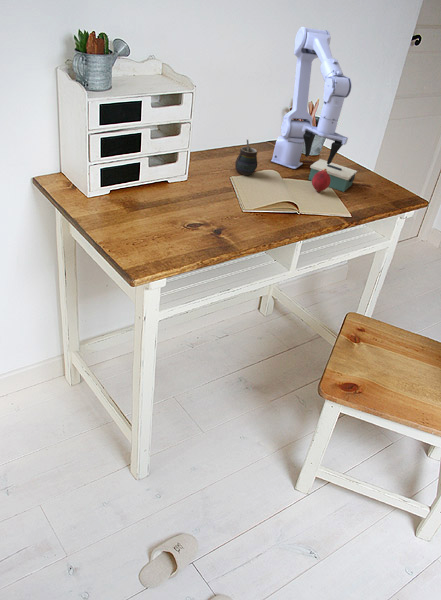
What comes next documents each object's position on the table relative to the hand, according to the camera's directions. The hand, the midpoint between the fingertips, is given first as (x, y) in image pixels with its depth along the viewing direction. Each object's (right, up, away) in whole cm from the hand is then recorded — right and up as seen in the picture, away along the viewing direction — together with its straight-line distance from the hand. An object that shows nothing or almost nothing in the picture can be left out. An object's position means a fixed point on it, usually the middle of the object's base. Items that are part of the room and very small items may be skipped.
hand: (317, 159), depth 179 cm
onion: (0, -10, +2) cm, 10 cm away
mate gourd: (-24, -3, +6) cm, 25 cm away
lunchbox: (+6, -5, +12) cm, 14 cm away
